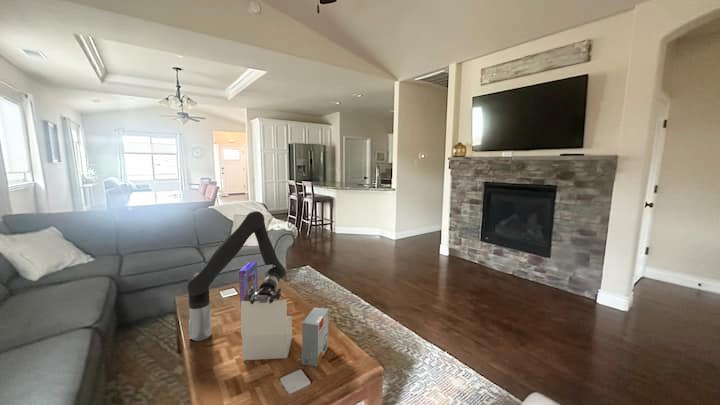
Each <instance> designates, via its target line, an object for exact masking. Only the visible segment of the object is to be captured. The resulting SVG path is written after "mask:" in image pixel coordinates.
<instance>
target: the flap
mask: <svg viewBox="0 0 720 405" xmlns="http://www.w3.org/2000/svg"><path fill="white" fill-rule="evenodd" d="M287 309H288V308H287V299H275V300H274V301H273V302H272V303H271V304H269V297H268V295H258V299H257V300H255V302H254V303H253V304H251V303H250V301H241V307H240V324H241V325H240V328H241V329H240V330H241V335H240V336H241V338H242V337H246V336H268V335H287V316H288V311H287Z"/></svg>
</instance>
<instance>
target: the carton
mask: <svg viewBox="0 0 720 405" xmlns="http://www.w3.org/2000/svg"><path fill="white" fill-rule="evenodd" d="M292 318H293V316H292V315H287V335H268V336H246V337H241V342H242V343H241V347H242V360H243V361H252V360H256V361H257V360H273V359H274V360H275V359H276V360H277V359H288V357H289V353H290V348H291V344H292V340H293V320H292Z"/></svg>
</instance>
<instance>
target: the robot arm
mask: <svg viewBox="0 0 720 405" xmlns="http://www.w3.org/2000/svg"><path fill="white" fill-rule="evenodd" d="M253 234H254V235H255V238H256V240H257V245H258V249H259V252H260V255H261V258H262V260H263V263H264V264H265V265H267V266H269V265H272V266H274V267H270V268H268V269H266V271H265V274H264V276H265V278H264V279H263V281H262V282H261V284H260V286H259V287H258V290H257V291H254V290H253V289H252V290H251V291H250V293H249V294H248V300H250V303H251V304H253V303H254V302H255V301H257V300H258V295H268V300H269V304H271V303H272V302H273V301H274V300H280V297H281V296H282V288H278V286H279V282H280V280H281V279H283V278H285V276H286V273H287V272H286V268H285V267H284V265H283V264H282V263H281V261H280V260H279V259H278V257H277V255H276V252H275V249H274V247H273V244H272V242H271V240H270V237H269V235H268V232H267V228H266V223H265V216H264V214H263V212H261V211H259V210H253V211H252V210H251V211H250V212H249V213H247V215H246V217H245V218H244V220H243V221H242V222H241V224H240V225H239V227H237V229H236V230H234V231H233V232H232V233H231V234H230V235H229V236H228V237H226V239H225V240H224V241H223V242H222V243H221V244H220V245H219V246H218V248H217V249H216V250H215V251H214V252H213V254H212V256H211V257H210V259H209V260H208V262H207V264H206V265H205V266H204V268H203V269H202V270H201V271H199V272H195V273H193V274H191V275H190V277H189V278H188V280H187V287H186V288H187V292H188V308H189V311H188V312H189V321H188V323H187V324H188V338H189V339H188V340H190V339H192V341H193V340H194V341H195V342H200V341H203V340H204V341H205V340H206V339H209V338H210V337H211V336H212V320H211V304H210V302H211V301H210V287H211V285H212V283H213V281H214V280H215V279H216V278H217V277H218V276H219V274H220V273H221V272H222V271H223V270H224V269H225V268H226V267H227V266H228V265H229V263H231V262H232V260H233V259H234V258H235V257H236V256H237V254H238V253H239V252H240V251H241V250H242V248H243V247H244V245H245V243H246V242H247V240H248V239H249V238H250V237H251V235H253ZM255 296H256V297H255Z"/></svg>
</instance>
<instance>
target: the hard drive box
mask: <svg viewBox="0 0 720 405" xmlns="http://www.w3.org/2000/svg"><path fill="white" fill-rule="evenodd" d="M301 326H302V327H301V328H302V329H301V337H302V338H301V365H306V366H311V367H316V368H317V367H318V366H319V365H320V363H321V361H322V360H323V359H322V358H323V356H324V355H325V353H326V350H327V349H328V346H329V308H323V307H313V309H312V310H311V311H310V312H309V313H308V315H307V316H306V318H305V319H304V320H303V321H302V324H301Z"/></svg>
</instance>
